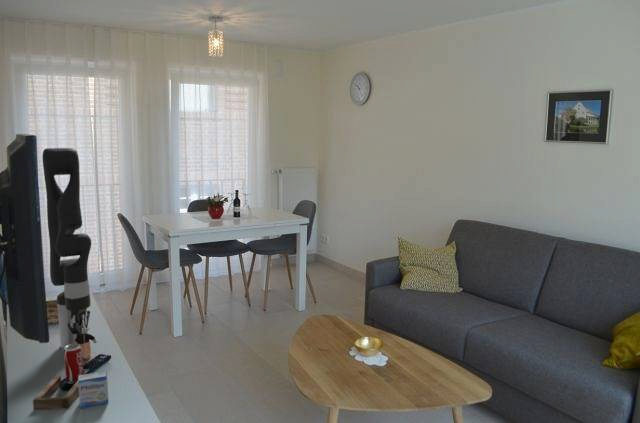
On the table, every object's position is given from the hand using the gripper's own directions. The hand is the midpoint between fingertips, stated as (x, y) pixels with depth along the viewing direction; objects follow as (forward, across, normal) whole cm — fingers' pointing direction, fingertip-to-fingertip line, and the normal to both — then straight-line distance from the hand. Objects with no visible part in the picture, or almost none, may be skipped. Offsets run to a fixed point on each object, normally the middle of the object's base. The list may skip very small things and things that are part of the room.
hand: (81, 343), depth 172 cm
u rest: (+10, +16, 0) cm, 19 cm away
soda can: (+10, +7, 0) cm, 12 cm away
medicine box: (+10, +20, +11) cm, 26 cm away
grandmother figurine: (+10, -10, -3) cm, 15 cm away
